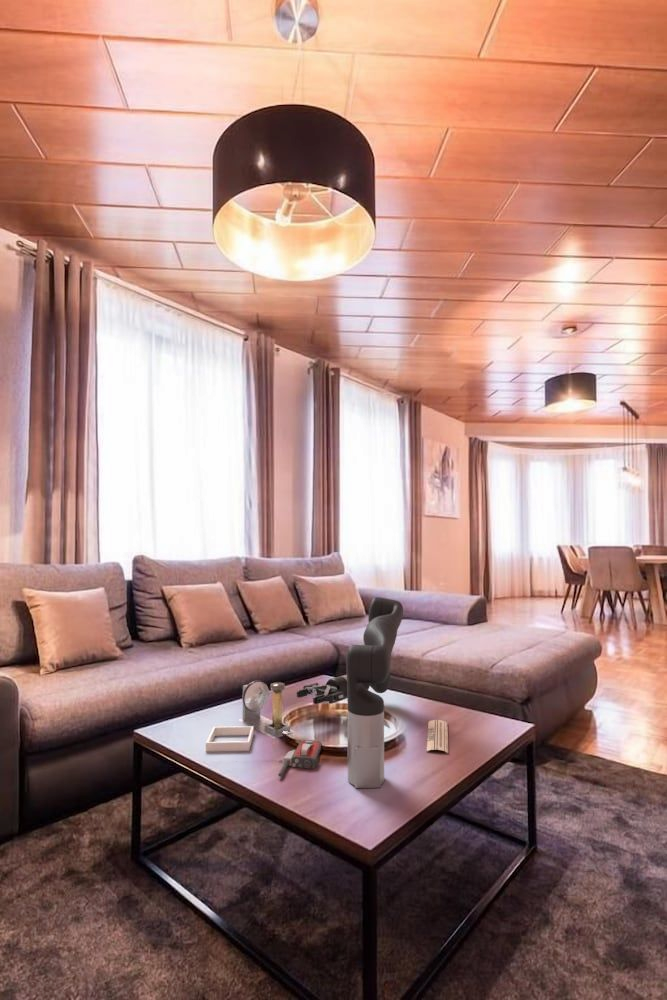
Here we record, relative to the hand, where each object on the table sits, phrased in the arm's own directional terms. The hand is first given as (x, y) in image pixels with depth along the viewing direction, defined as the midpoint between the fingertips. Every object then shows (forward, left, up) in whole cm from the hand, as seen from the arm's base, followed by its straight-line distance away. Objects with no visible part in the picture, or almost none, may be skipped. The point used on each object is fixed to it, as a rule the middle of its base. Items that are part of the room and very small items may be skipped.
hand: (305, 697), depth 171 cm
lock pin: (-7, +9, -8) cm, 13 cm away
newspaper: (-10, -40, -10) cm, 42 cm away
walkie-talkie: (-27, +1, -10) cm, 28 cm away
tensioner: (-2, +12, -9) cm, 15 cm away
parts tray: (-15, +22, -9) cm, 28 cm away
